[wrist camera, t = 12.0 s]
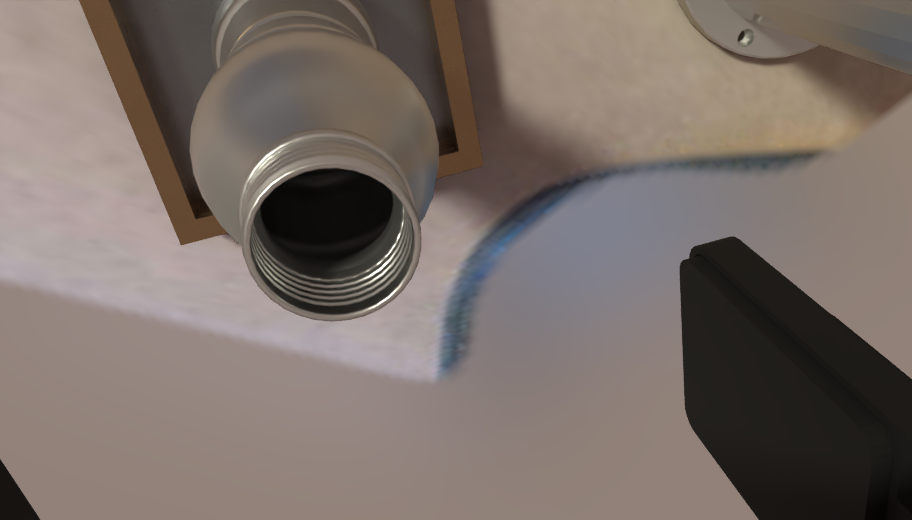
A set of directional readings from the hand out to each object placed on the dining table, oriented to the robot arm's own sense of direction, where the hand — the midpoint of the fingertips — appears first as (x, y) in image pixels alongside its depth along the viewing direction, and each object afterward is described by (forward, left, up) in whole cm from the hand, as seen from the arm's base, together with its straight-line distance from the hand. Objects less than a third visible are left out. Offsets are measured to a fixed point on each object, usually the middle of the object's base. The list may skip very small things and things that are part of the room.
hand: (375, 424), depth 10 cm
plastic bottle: (0, 0, -26) cm, 26 cm away
